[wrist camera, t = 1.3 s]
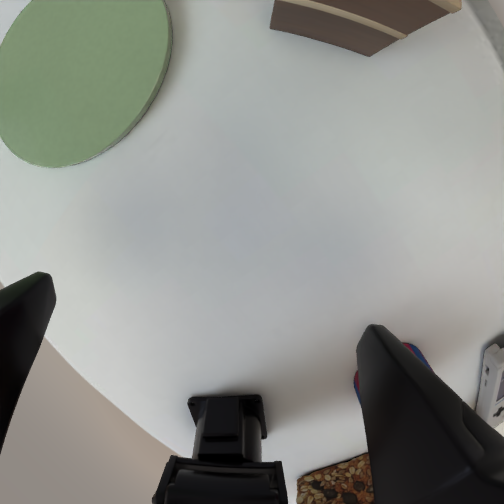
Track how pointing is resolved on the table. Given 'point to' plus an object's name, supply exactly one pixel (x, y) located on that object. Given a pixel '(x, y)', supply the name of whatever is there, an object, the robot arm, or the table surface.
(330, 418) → the table surface
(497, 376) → the handheld gaming device
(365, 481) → the bread
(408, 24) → the cake slice
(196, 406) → the robot arm
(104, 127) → the plate
